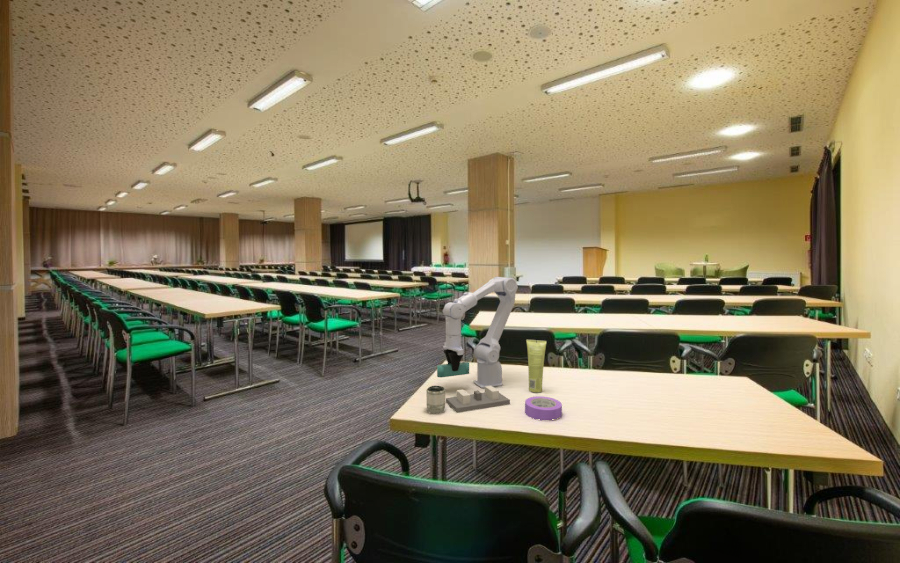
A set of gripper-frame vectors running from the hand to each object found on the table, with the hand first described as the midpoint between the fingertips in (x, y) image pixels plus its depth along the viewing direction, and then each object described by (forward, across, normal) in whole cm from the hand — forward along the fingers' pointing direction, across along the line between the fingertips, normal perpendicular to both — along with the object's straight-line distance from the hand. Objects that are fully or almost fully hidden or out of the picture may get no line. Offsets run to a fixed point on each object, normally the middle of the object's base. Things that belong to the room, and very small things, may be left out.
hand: (453, 369), depth 149 cm
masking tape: (+9, +31, +19) cm, 37 cm away
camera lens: (+8, +16, -13) cm, 22 cm away
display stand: (+8, +15, +3) cm, 17 cm away
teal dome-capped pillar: (+2, 0, 0) cm, 2 cm away
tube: (+8, +12, +29) cm, 33 cm away
